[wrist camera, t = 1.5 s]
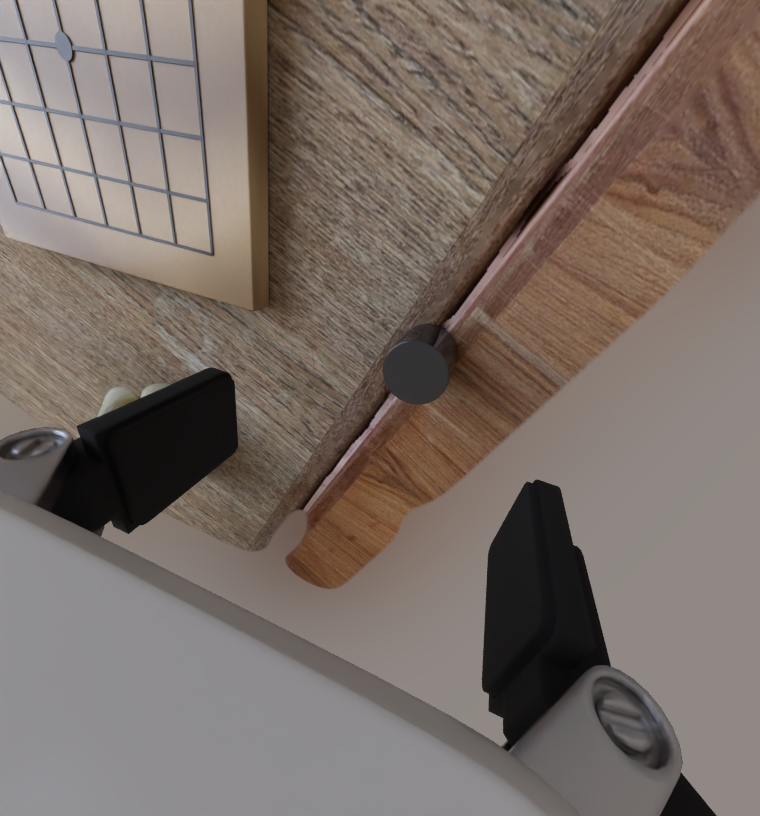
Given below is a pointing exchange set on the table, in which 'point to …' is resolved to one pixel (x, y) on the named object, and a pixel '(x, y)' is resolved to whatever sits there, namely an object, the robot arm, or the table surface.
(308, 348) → the table surface
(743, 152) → the table surface
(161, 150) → the board
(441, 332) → the black stone
